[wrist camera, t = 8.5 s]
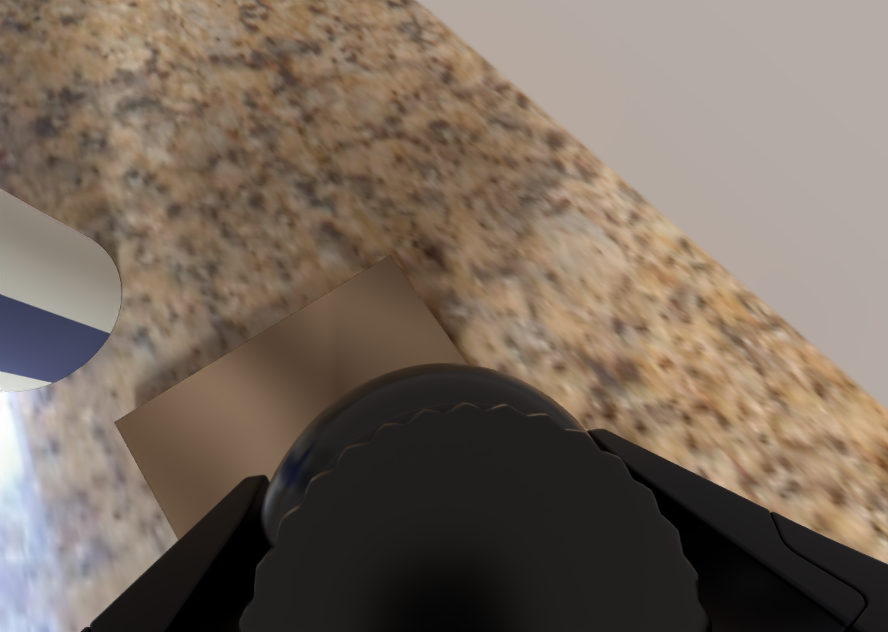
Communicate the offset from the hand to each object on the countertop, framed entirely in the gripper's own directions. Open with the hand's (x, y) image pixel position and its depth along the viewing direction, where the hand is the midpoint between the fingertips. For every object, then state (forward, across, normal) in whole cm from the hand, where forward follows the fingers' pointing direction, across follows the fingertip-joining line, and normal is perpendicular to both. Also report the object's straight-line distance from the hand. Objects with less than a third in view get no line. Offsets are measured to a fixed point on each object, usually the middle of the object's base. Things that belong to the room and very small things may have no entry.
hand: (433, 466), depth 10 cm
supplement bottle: (+4, 0, -6) cm, 7 cm away
